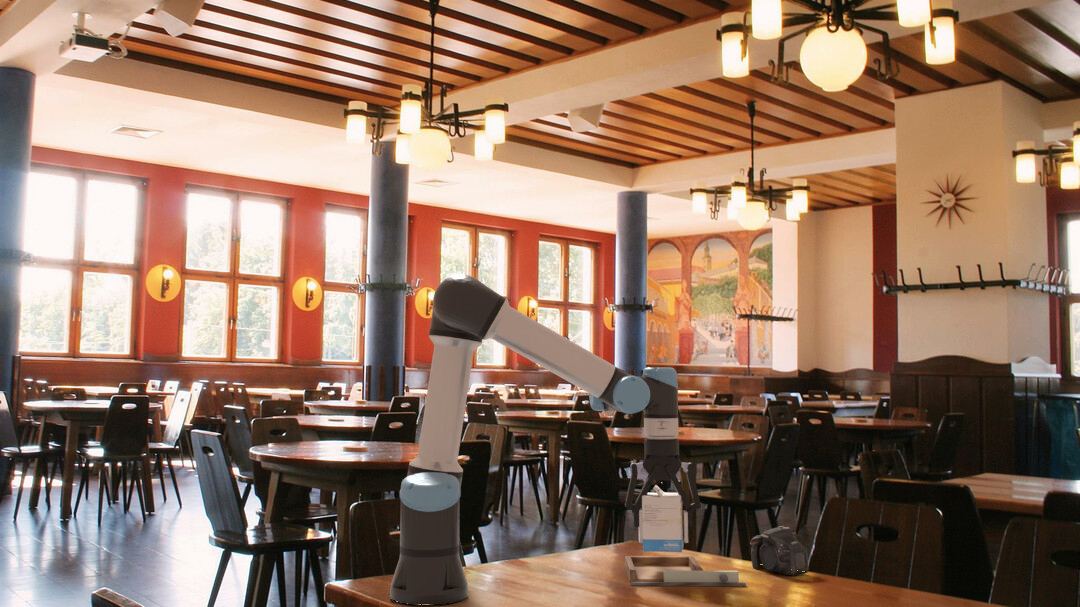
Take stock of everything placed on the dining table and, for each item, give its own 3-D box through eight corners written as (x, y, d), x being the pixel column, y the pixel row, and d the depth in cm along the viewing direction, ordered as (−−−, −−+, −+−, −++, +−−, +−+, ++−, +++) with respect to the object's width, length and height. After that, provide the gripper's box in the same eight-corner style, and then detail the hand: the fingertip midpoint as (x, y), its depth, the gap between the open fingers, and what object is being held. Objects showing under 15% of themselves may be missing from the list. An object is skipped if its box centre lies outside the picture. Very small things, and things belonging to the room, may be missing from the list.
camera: (740, 571, 199) (739, 525, 200) (763, 564, 206) (762, 520, 207) (795, 580, 190) (794, 532, 190) (817, 572, 197) (816, 527, 198)
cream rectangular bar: (664, 585, 184) (664, 572, 184) (663, 583, 186) (663, 570, 186) (739, 585, 183) (739, 573, 184) (737, 583, 186) (737, 570, 186)
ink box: (681, 553, 189) (680, 489, 190) (642, 551, 191) (641, 488, 192) (683, 545, 197) (682, 484, 198) (645, 544, 199) (644, 483, 200)
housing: (630, 585, 184) (630, 572, 185) (625, 567, 202) (624, 555, 202) (746, 586, 184) (745, 573, 184) (730, 568, 201) (729, 556, 201)
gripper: (613, 438, 192) (614, 545, 191) (713, 438, 192) (716, 544, 190) (611, 436, 200) (612, 538, 198) (708, 436, 199) (710, 538, 198)
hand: (663, 541), depth 194 cm, fingers closed on ink box, 9 cm apart
